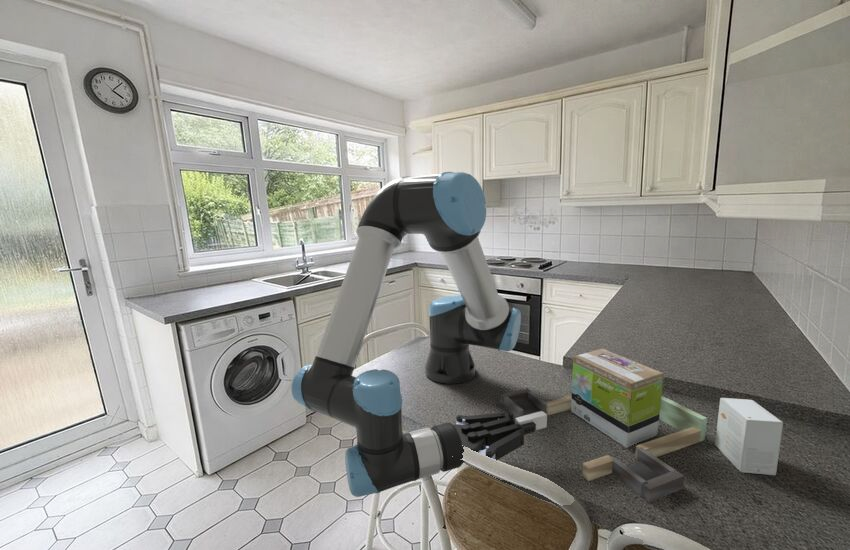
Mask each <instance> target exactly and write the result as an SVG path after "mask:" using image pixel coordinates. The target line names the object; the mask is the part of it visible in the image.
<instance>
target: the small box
mask: <svg viewBox="0 0 850 550" xmlns="http://www.w3.org/2000/svg"><path fill="white" fill-rule="evenodd" d="M718 407H719V408H718V414H717V425H716V433H715V434H716V435H715V441H714V442H715V443H714V445H715V447H717V448H718V449H719V451H720V452H721V453H722V454H723V455H724V456H725V457H726V458H727V460H729V461H730V463H732V465H734V467H735V468H736V469H737V470H738V471H739V472H740V473H744V474H745V473H746V474H759V475H767V476H776V475H777V470H778V469H777V468H778V465H779V464H778V462H779V457H780V456H779V455H780V448H781V442H782V435H783V434H782V433H783V426H784V421H782V420H780V419H779V418H778V417H776V416H775V415H774V414H772V413H771V412H769V411H768V410H767V409H765V408H764V407H762V406H761V405H760V404H759V403H757V402H756V401H755V400H753V399H745V398H732V397H731V398H730V397H729V398H728V397H721V398H719V406H718Z"/></svg>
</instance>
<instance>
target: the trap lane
mask: <svg viewBox="0 0 850 550" xmlns="http://www.w3.org/2000/svg"><path fill="white" fill-rule="evenodd" d="M500 404H501V406H502V407H504V408H505V409H506V411H508V412H509V413H512V414H513V417H518V416H522V415H529V414H532V413H536V412H540V411H543V412H544V413H546V414H547V416H552V415H555V414H560V413H563V412H567V411H571V395H570V396H569V395H568V396H566V397H561V398H557V399H553V400H550V401H545V400H544V399H543V398H541V397H540V396H539V395H537V394H536V392H533V391H532V390H530V389H529V388H524V389H519V390H515V391H510V392H506V393H502V394H500ZM659 421H662V422H664V423H665V424H667V425H669V426H671V427H672V428H674V429H676V430H678V431H676V432H673V433H670V434H668V435H664V436H661V437H658V438H654V439H652V440H649V441H646V442H644V443H643V442H642V443H639V444H636V445H635V453H634V455H635V456H634V457H635V458H636V461H637V462H635V463H633V464H630V465H626V464H624V463H623V462H621V461H620V460H619V459H617V458H616V457H615V456H611V455H609V454H607V455H603V456H601V457H598V458H595V459H591V460H589V461H585V462H583V463H582V470H581V471H582V472H581V476H582V477H583V478H584V479H585V480H586V481H588V482H590V481H593V480H597V479H598V478H602V477H605V476H607V475H610V474H613V475H614V476H615V477H616V478H617V479H619V480H620V481H621V482H623V483H624V484H625V485H626V486H628V487H629V488H630V489H631V490H633V491H634V492H635V493H636V494H637V495H639V496H640V497H641V498H643V499H644V501H646V502H647V503H652V502H654V501H657V500H658V499H661V498H663V497H666V496H668V495H671V494H675V493H676V492H678V491H681V490H683V489H684V481H685V475H683V474H682V473H680V471H678V470H676V469H675V468H674V467H672V466H670V465H669V464H667V463H666V462H664V461H663V460H661V459H659V457H660V456H663V455H667V454H669V453H672V452H675V451H678V450H680V449H681V450H682V449H683V448H687V447H689V446H692V445H694V444H698V443H700V442H703V441H705V440H706V431H707V422H708V418H707V417H706V416H704V415H702V414H700V413H698V412H696V411H694V410H692V409H691V408H688V407H686V406H683V405H682V404H681V403H680V404H679V403H677V402H676V401H673V400H671V399H670V398H668V397H665V396H663V395H662V396H661V406H660V416H659Z"/></svg>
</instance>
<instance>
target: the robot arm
mask: <svg viewBox="0 0 850 550" xmlns="http://www.w3.org/2000/svg"><path fill="white" fill-rule="evenodd" d="M486 204H487V202H486V198H485V194H484V190H483V188H482V185H481V184H480V183H479V181H478V180H477V178H475V177H474V176H473V175H471V174H470V173H467V172H463V171H462V172H459V171H457V172H453V171H445V172H441V173H434V174H425V175H424V174H423V175H415V176H414V175H413V176H401V177H398V178H394V179H393V180H391V181H389V182H388V183H386V184H385V185H384V186H383V187H381V188H380V189H379V191H378V192H377V193H376V194H375V195H374V196H373V197H372V199H371V200H370V202H369V203H368V205H367V206H366V208H365V210H364V211H363V213H362V215H361V218H360V221H359V222H358V225H357V228H356V232H355V233H356V235H357V237H358V240H357V243H356V245H355V248H354V250H353V254H352V256H351V259H350V262H349V265H348V266H347V269H346V271H345V272H346V273H345V275H344V277H343V280H342V283H341V286H340V288H339V291H338V294H337V296H336V299H335V302H334V305H333V307H332V309H331V313H330V315H329V318H328V321H327V324H326V326H325V329H324V332H323V334H322V338H321V340H320V343H319V345H318V348H317V350H316V353H315V357H314V359H313V362H312V364H311V363H309V364H306V365H304V366H302V367H300V368H299V371H298V372H297V373H296V374H294V377H293V378H292V382H291V388H290V389H291V396H292V397H293V399H294V400H295V402H297V403H298V404H300V405H301V406H304V407H306V408H307V409H309V410H311V412H317V413H319V414H322V415H325V416H326V417H327V416H328V417H329V418H332V419H335V420H337V421H338V422H339V421H340V422H341V423H344V424H346V425H349V426H351V427H353V428H355V430H356V442H357V443H356V444H354V445H353V446H351V447H348V448H347V449H346V450H345V451H344V452H345V453H344V456H345V458H344V462H345V471H346V478H347V479H346V480H347V484H348V489H349V492H350V494H351V495H352V496H353V497H355V498H359V497H364V496H365V497H366V496H370V495H373V494H380V493H381V492H384V491H387V490H390V489H392V488H395V487H398V486H401V485H404V484H407V483H411V482H415V481H418V480H420V479H423V478H428V477H430V476H434V475H437V474H439V473H440V472H443V473H445V472H449V471H452V470H455V469H458V468H461V467H462V465H463V464H464V463H465V461H463V460H460V459H462V458H463V455H462V453H463V452H464V449H463V447H464V446H465V447H468V448H470V449H471V450H473V451H476V452H478V453H481V454H483V455H485V456H488V457H490V458H493V459H496V461H498V460H500V459H501V458H503V457H505V456H507V455H508V454H510V453H512V452H514V451H515V450H518V449H519V448H521V447H522V446H524V445H525V435H529V434H531V433H535V432H537V431H538V430H541V429H545V428H547V427H548V423H547V422H548V415H547V414H546V413H544V412H543V411H540V412H536V413H532V414H529V415H522V416H518V417H515V416H514V415H513V414H512V413H510V412H509V413H508V414H507V416H506V413H504V412H495V413H484V414H475V415H462V414H457V415H456V417H455V418H456V420H455V421H456V423H455V424H453V423H452V422H445V423H440V424H437V425H433V426H432V427H431V428H430V427H427V426H426V427H424V428H420V429H415V430H412V431H409V432H406V433H403V432H404V429H403V396H402V393H401V384H400V383H401V382H400V378H399V377H398V376H397V374H396V373H395V372H393V371H391V370H389V369H388V370H387V369H371V370H366V371H363V372H361V373H360V374H358V375H357V376H355V375H354V376H353V374H354V370H355V367H356V363H357V360H358V358H359V355H360V352H361V349H362V346H363V343H364V340H365V338H366V335H367V331H368V328H369V325H370V322H371V318H372V317H373V316H372V315H373V314H374V310H375V307H376V305H377V301H378V298H379V296H380V291H381V289H382V286H383V283H384V281H385V278H386V273H387V272H388V268H389V265H390V262H391V259H392V256H393V253H394V251H395V250H397V249H399V248H401V244H402V243H403V242H402V241H403V239H404V237H406V235H408V234H411V235H412V234H413V235H424V237H425V239H426V240H427V242H428V245H429V247H430V248H431V249H432V250H433V251H435V252H438V253H441V255H442V258H443V260H444V262H445V265H446V266H447V268H448V271H449V272H450V275H451V277H452V279H453V281H454V283H455V285H456V289H458V292H459V293H460V295H450V296H444V297H439V298H436V299H434V300H432V301H431V302H430V303H429V309H428V310H429V312H428V318H429V319H428V320H429V347H430V348H429V352H428V355H427V357H426V361H425V365H424V370H425V371H424V372H425V376H426V378H427V379H429V380H431V381H433V382H436V383H441V384H447V385H448V384H449V385H450V384H459V383H460V384H461V383H465V382H467V381H470V380H471V379H473V378H474V377H475V375H476V365H475V361H474V358H473V355H472V353H471V349H470V345H471V346H476V347H480V348H485V349H491V350H496V351H498V352H500V351H501V352H511V351H512V350H513V349H514V348H515V347H516V344H517V341H518V339H519V335H520V329H521V324H522V323H521V322H522V313H521V311H520V309H518V308H516V307H512V308H511V307H510V306H509V303H508V301H507V299H505V297H504V296H501V295H500V294H499V293H498V290H497V288H496V284H495V281H494V279H493V276H492V272H491V270H490V267H489V265H488V262H487V259H486V255H485V254H484V251H483V248H482V246H481V242H480V239H479V235H480V234H481V232H482V229H483V227H484V225H485V222H486V220H487V208H486ZM462 445H463V446H462ZM452 456H453V457H452Z"/></svg>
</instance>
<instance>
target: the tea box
mask: <svg viewBox="0 0 850 550" xmlns="http://www.w3.org/2000/svg"><path fill="white" fill-rule="evenodd" d="M572 357H573V360H572V376H571V377H572V380H571V395H570V396H571V410H570V412H571V413H573V414H575V415H576V416H577V417H579V418H581V419H582V420H584V421H585V422H587V423H588V424H590V425H591V426H593V427H594V428H595V429H597V430H598V431H600V432H602V433H603V434H605V435H607V436H608V437H609V438H611V439H612V440H613V441H615V442H617V443H618V444H619V443H620V444H619V445H621V446H622V445H623V446H622V447H623V448H625V447H626V448H625V449H627V448H630V446H631V447H633V446H635V445H638V444H640V443H643V442H644V440H645V441H647V440H649V439H651V438H654V437H655V436H657V435H658V431H659V424H660V419H659V416H660V406H661V396H663V395H662V394H663V386H664V385H663V384H664V378H665V377H664V372H662V371H660V370H657V369H654V368H652V367H649V366H647V365H645V364H643V363H641V362H637V361H634V360H633V359H630V358H628V357H625V356H622V355H620V354H617V353H615V352H612V351H610V350H608V349H605V348H602V347H601V348H599V349H596V350H592V351H589V352H583V353H581V354H578V355H577V354H576V355H573V356H572ZM639 442H640V443H639ZM637 443H638V444H637ZM634 444H635V445H634ZM632 445H633V446H632Z"/></svg>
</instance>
